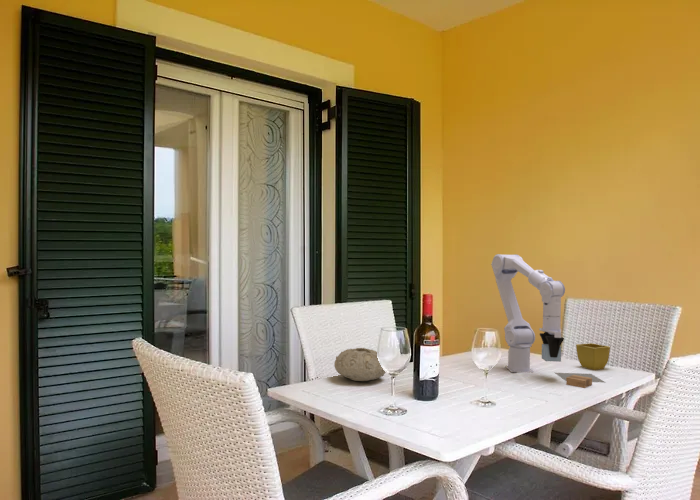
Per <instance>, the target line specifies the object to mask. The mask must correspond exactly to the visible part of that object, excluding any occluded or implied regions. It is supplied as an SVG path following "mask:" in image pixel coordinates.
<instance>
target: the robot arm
mask: <svg viewBox="0 0 700 500" xmlns="http://www.w3.org/2000/svg"><path fill="white" fill-rule="evenodd" d="M490 265H491V268H492V271H493V274H494V275H493V276H494V278H495V283H496V286H497V290H498V293H499V296H500V299H501V302H502V306H503V309H504V312H505V316H506V319H507V324H506V325H505V326H504V327H503V329H504V340H505V342H506V344H507V346H508V347H509V348H508V351H507V354H508V355H507V356H508V357H507V365H505V368H506V369H507V370H508V371H509V372H511V373H534V371H533V370H532V369H530V368H531V348H532V345H533V344H534V343H535V341H536V334H535V332H534V330H533V329H532V327H531V324H530V323H529V322H528V321H526V320H525V319H524V318H523V314H522V312H521V308H520V306H519V302H518V300H517V296H516V295H517V294H516V292H515V289H514V287H513V283H512V279H513V278H515V276H516V275H517V274H518V272H519V273H520V274H521V275H523V276H525V277H526V278H527V279H528V283H529V284H531V285H532V286H533V287H535V288H536V289H537V290H538V291H539V294H540V296H541V302H542V328H541V327H539V329H538V330H539V331H540V332H543V333H539V336H540V339H541V341H542V344H548V345H549V353H550V357H557V356H558V352H559V349H560V346H561V347H562V343H563V342H564V340H565V338H564V337H563V336H562V328H561V321H562V319H561V318H562V317H561V316H562V314H561V313H562V297H563V296H564V295H565V293H566V292H565V291H566V287H565V285H564V283H563V282H562V281H561V280H554V279H553V277H551V276H548V275H547V274H545V273H544V272H545V271H544V270H543V269H534V268H533V267H531V266H530V265H529V264H527V262H526V261H524V259H523V257H522V256H520V255H519V254H501V253H498V254H495V255H494V256H493V258H492V260H491V264H490Z"/></svg>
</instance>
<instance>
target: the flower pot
mask: <svg viewBox="0 0 700 500" xmlns="http://www.w3.org/2000/svg"><path fill="white" fill-rule="evenodd" d="M575 348H576V355H577V359H578V362H579V364H580V365H581V367H582V368H583V369H588V370H591V371H596V370H597V371H598V370H604V368H605V367H606V366H607V364H608V362H609V359H610V358H609V357H610V351H611V346H608V345H602V344H597V343H592V342H591V343H589V342H588V343H580V344H575Z"/></svg>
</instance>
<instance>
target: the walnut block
mask: <svg viewBox="0 0 700 500" xmlns="http://www.w3.org/2000/svg"><path fill="white" fill-rule="evenodd" d="M565 382H566V383H565V385H566V386H571V387H572V386H573V387H578V388H583V389H586V388H588V387H590V386H592V385H593V382H592V378H589V377H583V376H577V375H572V376H569V377H567V378H566V381H565Z"/></svg>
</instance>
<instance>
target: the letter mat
mask: <svg viewBox="0 0 700 500" xmlns="http://www.w3.org/2000/svg"><path fill="white" fill-rule="evenodd" d="M554 374H556V375H557V376H558V377H560V378H561V379H562V380H564V381H565V382H566V378H567V377H569V376H572V375H577V376H583V377H589V378H592V383H604V384H605V383H607V382H606V381H605V380H603V379H600V377H598V376H596V375H594V374H592V373H578V372H577V373H576V372H554Z"/></svg>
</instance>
